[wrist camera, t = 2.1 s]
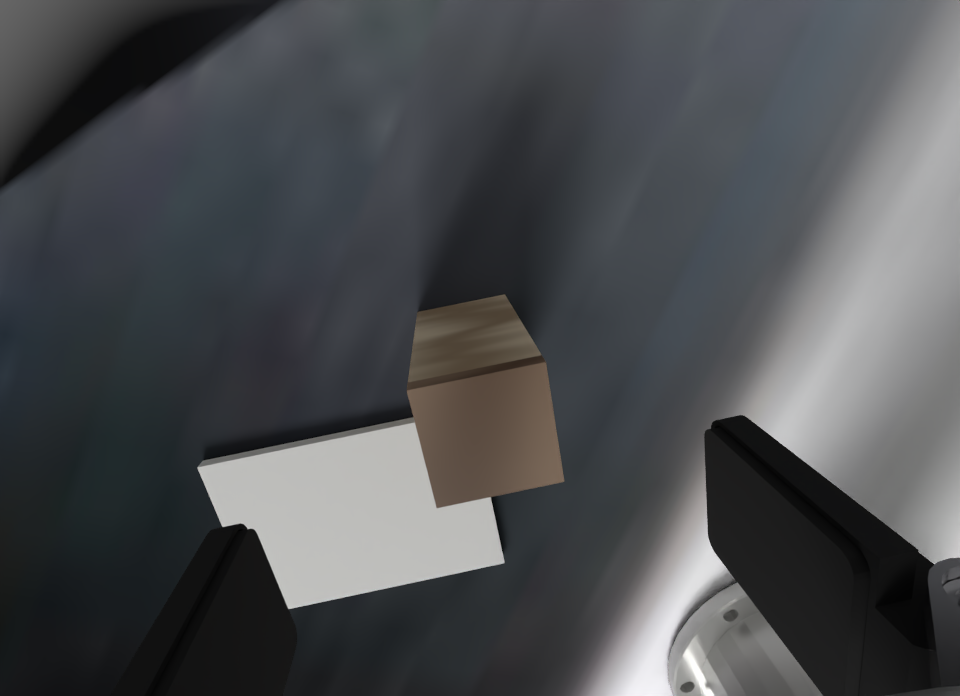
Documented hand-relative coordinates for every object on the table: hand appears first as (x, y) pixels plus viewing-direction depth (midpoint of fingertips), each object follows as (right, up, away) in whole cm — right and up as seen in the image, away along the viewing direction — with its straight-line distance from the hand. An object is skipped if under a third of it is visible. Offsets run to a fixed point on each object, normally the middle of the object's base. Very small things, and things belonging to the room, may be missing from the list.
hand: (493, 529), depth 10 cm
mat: (-6, -4, +15) cm, 17 cm away
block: (-1, +4, +13) cm, 14 cm away
